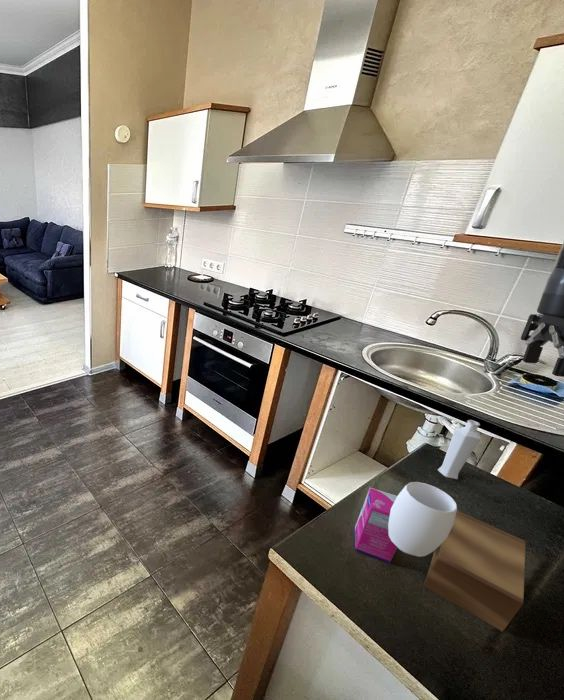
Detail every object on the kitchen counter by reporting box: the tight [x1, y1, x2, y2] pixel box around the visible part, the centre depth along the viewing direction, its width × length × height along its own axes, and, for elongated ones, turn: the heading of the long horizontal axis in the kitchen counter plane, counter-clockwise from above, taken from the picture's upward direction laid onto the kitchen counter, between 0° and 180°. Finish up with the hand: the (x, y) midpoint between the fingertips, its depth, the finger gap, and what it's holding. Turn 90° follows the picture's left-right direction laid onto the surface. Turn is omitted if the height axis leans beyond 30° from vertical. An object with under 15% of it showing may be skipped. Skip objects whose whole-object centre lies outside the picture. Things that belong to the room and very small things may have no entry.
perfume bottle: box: [437, 419, 482, 480], centre depth 88 cm, size 5×4×15 cm
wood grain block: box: [423, 510, 527, 633], centre depth 66 cm, size 16×10×7 cm, turn 133°
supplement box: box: [353, 487, 398, 564], centre depth 71 cm, size 6×6×12 cm
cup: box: [388, 481, 458, 558], centre depth 62 cm, size 7×7×21 cm
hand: (543, 368), depth 79 cm, fingers open, 8 cm apart
